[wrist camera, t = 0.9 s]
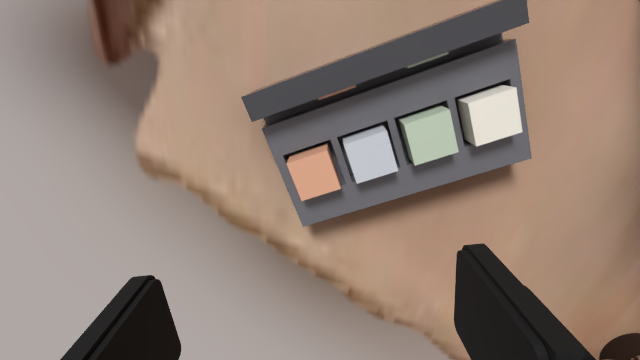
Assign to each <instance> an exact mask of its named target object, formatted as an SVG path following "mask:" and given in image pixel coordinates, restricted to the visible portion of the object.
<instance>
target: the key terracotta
mask: <svg viewBox="0 0 640 360" xmlns="http://www.w3.org/2000/svg"><path fill="white" fill-rule="evenodd" d="M287 167H288V169H289V171H290V174H291V176H292V179H293V181H294V184H295V186H296V189H297V191H298V194H299V196H300V198H301V201H304V200H307V199H310V198H313V197H316V196H320V195H323V194H326V193H329V192H332V191H336V190H339V189H341V182H340V177H339V174H338V171H337V168H336V165H335V163H334V160H333V157H332V154H331V151H330V148H329V146H328V143H326V144H323V145H320V146H317V147H314V148H311V149H308V150H305V151H302V152H299V153H296V154H293V155H290V156H289V159H288V161H287Z"/></svg>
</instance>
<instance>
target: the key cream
mask: <svg viewBox="0 0 640 360" xmlns="http://www.w3.org/2000/svg"><path fill="white" fill-rule="evenodd" d="M457 103H458V108H459V113H460V118H461V123H462V128H463V133H464V138H465V140H467V141H468V142H470V143H471V144H473V145H475V146H476V147H477V146H480V145H483V144H486V143H489V142H493V141H496V140H499V139H502V138H505V137H509V136H512V135H515V134H518V133H521V132H523V131H522V124H521V117H520V110H519V103H518V95H517V88H516V87H511V86H506V85H498V86H495V87H492V88H489V89H486V90H483V91H480V92H477V93H474V94H471V95H468V96H465V97H462V98H460V99H457Z"/></svg>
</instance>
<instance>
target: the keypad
mask: <svg viewBox="0 0 640 360" xmlns="http://www.w3.org/2000/svg"><path fill="white" fill-rule="evenodd" d="M527 23H529V17H528V9H527V0H498V1H495V2H491V3H488V4H486V5H483V6H480V7H478V8H475V9H472V10H470V11H467V12H464V13H462V14H459V15H456V16H454V17H451V18H448V19H446V20H443V21H440V22H437V23H435V24H432V25H429V26H427V27H424V28H421V29H419V30H416V31H413V32H411V33H408V34H405V35H403V36H400V37H397V38H395V39H392V40H389V41H387V42H384V43H381V44H379V45H376V46H373V47H371V48H368V49H365V50H362V51H360V52H357V53H354V54H352V55H349V56H346V57H344V58H341V59H338V60H336V61H333V62H330V63H328V64H325V65H322V66H320V67H317V68H314V69H312V70H309V71H306V72H304V73H301V74H298V75H296V76H293V77H290V78H287V79H285V80H282V81H279V82H277V83H274V84H271V85H269V86H266V87H263V88H261V89H258V90H256V91H254V92H251V93H249V94H247V95H245V96H243V97H241V98H242V100H243V102H244V105H245V107H246V109H247V112H248V114H249V116H250V119H251V121H252V122H253V121H256V120H259V119H262V118H264V120H265V122H266V125H265V126H264V127H263V128H262V130H263V132H264V135H265V137H266V140H267V142H268V144H269V147H270V149H271V151H272V154H273V156H274V159H275V161H276V163H277V166H278V168H279V171H280V173H281V175H282V178H283V180H284V182H285V185H286V187H287V190H288V192H289V194H290V197H291V199H292V202H293V204H294V206H295V209H296V211H297V214H298V216H299V218H300V221H301V223H302V225H303V227H304V226H307V225H311V224H314V223H317V222H321V221H324V220H327V219H331V218H334V217H337V216H341V215H344V214H347V213H351V212H354V211H357V210H361V209H364V208H367V207H371V206H374V205H377V204H381V203H384V202H387V201H391V200H394V199H397V198H401V197H404V196H407V195H411V194H414V193H417V192H421V191H424V190H427V189H431V188H434V187H437V186H441V185H444V184H447V183H451V182H454V181H457V180H461V179H464V178H467V177H471V176H474V175H477V174H481V173H484V172H487V171H491V170H494V169H497V168H501V167H504V166H507V165H511V164H514V163H517V162H521V161H524V160H527V159H531V158H532V157H531V150H530V142H529V135H528V127H527V120H526V112H525V105H524V97H523V90H522V82H521V74H520V67H519V59H518V52H517V44H516V39H507V40H503V38H502V32H504V31H507V30H510V29H513V28H515V27H518V26H521V25H524V24H527ZM498 85H506V86H511V87H516V88H517V95H518V103H519V110H520V117H521V124H522V131H523V132H521V133H518V134H515V135H512V136H509V137H505V138H502V139H499V140H496V141H493V142H489V143H486V144H483V145H480V146H477V147H476V146H475V145H473V144H471V143H470V142H468V141H467V140H465V138H464V133H463V128H462V123H461V118H460V113H459V108H458V103H457V99H460V98H462V97H465V96H468V95H471V94H474V93H477V92H480V91H483V90H486V89H489V88H492V87H495V86H498ZM439 105H441V106H443V107H445V108H447V109H450V113H451V118H452V123H453V127H454V132H455V137H456V142H457V146H458V151H459V152H457V153H454V154H451V155H448V156H445V157H441V158H438V159H435V160H432V161H428V162H425V163H422V164H419V165H416V166H415V165H414V164H413V163H412V161H411V160H410V159H409V157H408V154H407V150H406V146H405V143H404V139H403V135H402V132H401V128H400V124H399V120H398V119H400V118H403V117H406V116H409V115H412V114H415V113H418V112H421V111H424V110H427V109H430V108H433V107H436V106H439ZM379 125H383V126H384V127H385V129H386V130H387V133H388V136H389V140H390V144H391V147H392V151H393V154H394V158H395V161H396V165H397V168H398V171H396V172H393V173H390V174H387V175H384V176H380V177H377V178H374V179H371V180H368V181H364V182H361V183H358V184H357V183H356V180H355V177H354V174H353V171H352V168H351V165H350V162H349V159H348V156H347V153H346V150H345V147H344V144H343V137H346V136H349V135H352V134H355V133H358V132H361V131H364V130H367V129H370V128H373V127H376V126H379ZM326 143H328V146H329V148H330V151H331V154H332V157H333V160H334V163H335V165H336V168H337V171H338V174H339V177H340V182H341V189H339V190H336V191H332V192H329V193H326V194H323V195H320V196H316V197H313V198H310V199H307V200H304V201H301V198H300V196H299V194H298V191H297V189H296V186H295V184H294V181H293V179H292V176H291V174H290V171H289V169H288V167H287V161H288V159H289V156H290V155H293V154H296V153H299V152H302V151H305V150H308V149H311V148H314V147H317V146H320V145H323V144H326Z"/></svg>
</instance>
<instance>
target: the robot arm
mask: <svg viewBox="0 0 640 360" xmlns="http://www.w3.org/2000/svg"><path fill="white" fill-rule="evenodd" d="M454 324H455V328H456V331H457V333H458V335H459V337H460V339H461V341H462V343H463V345H464V346H465V348H466V350H467V352H468V354H469V356H470V358H471V360H596V359H595V358H594V357H593V356H592V355H591V354H590V353H589V352H588V351H587V350H586V349H585V348H584V347H583V345H582V344H581V343H580V342H579V341H578V340H577V339H576V338H575V337H574V336H573V335H572V334H571V333H570V332H569V331H568V330H567V329H566V327H565V326H564V325H563V324H562V323H561V322H560V321H559V320H558V319H557V318H556V317H555V316H554V315H553V314H552V313H551V312H550V311H549V309H548V308H547V307H546V306H545V305H544V304H543V303H542V302H541V301H540V300H539V299H538V298H537V297H536V296H535V295H534V294H533V293H532V291H531V290H530V289H528V288H527V287H526V286H524V285H523V284H522V283H521V282H520V281H519V280H518V279H517V278H516V277H515V276H514V275H513V274H512V273H511V272H510V271H509V270H508V268H507V267H506V266H505V265H504V264H503V263H502V262H501V261H500V260H499V259H498V258H497V257H496V256H495V255H494V253H493V252H492V251H491V250H490V249H489V248H488V247H487V246H486V245H485V244H473V245H464V246H463V248H462V250H460V251H458V252H457V263H456V286H455V309H454ZM180 353H181V343H180V340H179V337H178V334H177V331H176V328H175V325H174V321H173V318H172V315H171V312H170V309H169V306H168V303H167V300H166V297H165V294H164V291H163V287H162V284H161V282H160V280H158V279H155V277H154V276H152V275H148V276H138V277H132V278H131V279H130V280H129V281H128V282H127V283H126V284H125V285H124V287H123V288H122V289H121V290H120V291H119V293H118V294H117V295H116V296H115V297H114V298H113V299H112V301H111V302H110V303H109V304H108V305H107V306H106V307H105V309H104V310H103V311H102V312H101V313H100V314H99V316H98V317H97V318H96V319H95V320H94V322H93V323H92V324H91V325H90V326H89V327H88V328H87V329H86V331H85V332H84V333H83V334H82V335H81V336H80V338H79V339H78V340H77V341H76V342H75V343H74V344H73V346H72V347H71V348H70V349H69V350H68V352H67V353H66V354H65V355H64V356H63V357H62V358H61V360H178V359H179V357H180ZM607 360H608V359H607Z"/></svg>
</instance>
